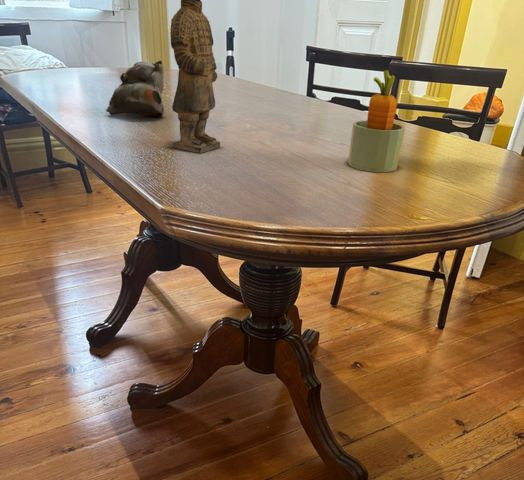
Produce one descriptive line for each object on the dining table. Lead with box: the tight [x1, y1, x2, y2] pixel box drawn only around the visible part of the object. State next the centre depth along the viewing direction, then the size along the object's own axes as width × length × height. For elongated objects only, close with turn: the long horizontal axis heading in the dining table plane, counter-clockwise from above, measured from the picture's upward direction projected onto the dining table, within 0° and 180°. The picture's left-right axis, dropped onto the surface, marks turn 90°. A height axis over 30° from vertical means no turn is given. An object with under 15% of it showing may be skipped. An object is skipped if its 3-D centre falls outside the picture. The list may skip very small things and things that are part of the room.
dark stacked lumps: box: [105, 60, 165, 118], centre depth 122 cm, size 15×12×14 cm
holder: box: [347, 120, 406, 173], centre depth 94 cm, size 9×9×7 cm
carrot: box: [366, 69, 398, 130], centre depth 91 cm, size 5×5×15 cm
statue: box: [169, 0, 221, 154], centre depth 92 cm, size 10×8×30 cm
